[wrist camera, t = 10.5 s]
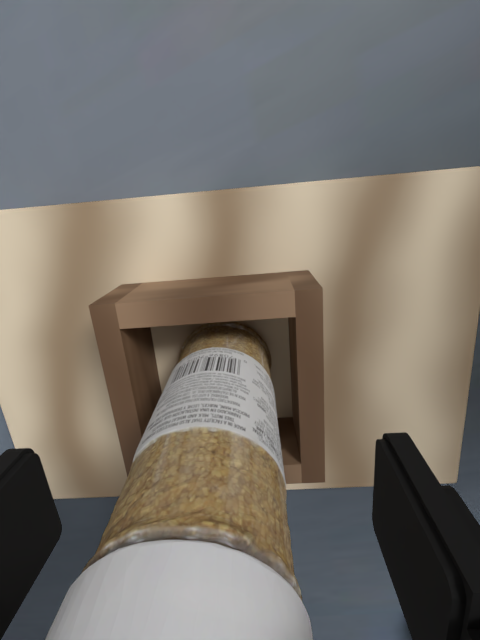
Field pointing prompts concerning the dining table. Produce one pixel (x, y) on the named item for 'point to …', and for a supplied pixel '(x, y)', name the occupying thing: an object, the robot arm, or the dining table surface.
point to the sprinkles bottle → (198, 513)
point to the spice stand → (246, 318)
